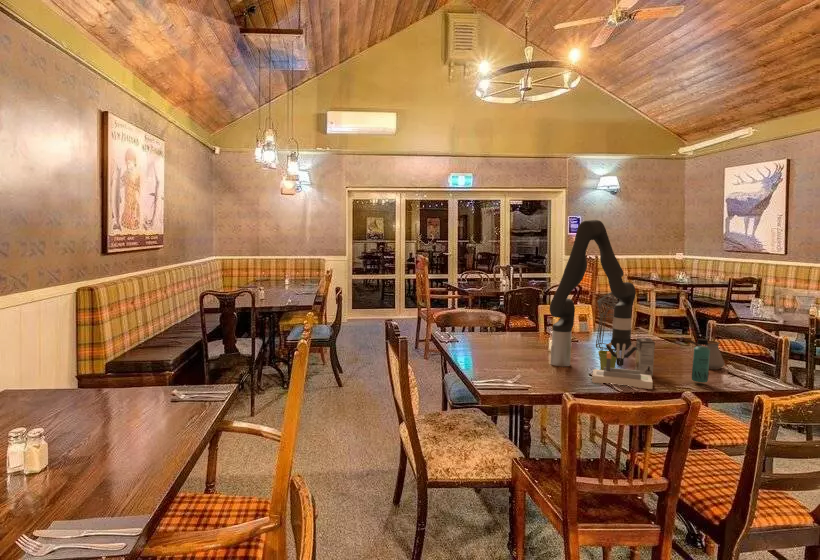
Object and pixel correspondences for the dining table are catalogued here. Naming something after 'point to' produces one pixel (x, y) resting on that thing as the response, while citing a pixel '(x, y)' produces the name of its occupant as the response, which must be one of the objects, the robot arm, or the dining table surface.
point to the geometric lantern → (605, 318)
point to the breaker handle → (608, 362)
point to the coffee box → (644, 356)
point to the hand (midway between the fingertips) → (619, 366)
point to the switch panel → (622, 377)
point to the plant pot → (604, 359)
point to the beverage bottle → (701, 362)
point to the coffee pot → (712, 354)
